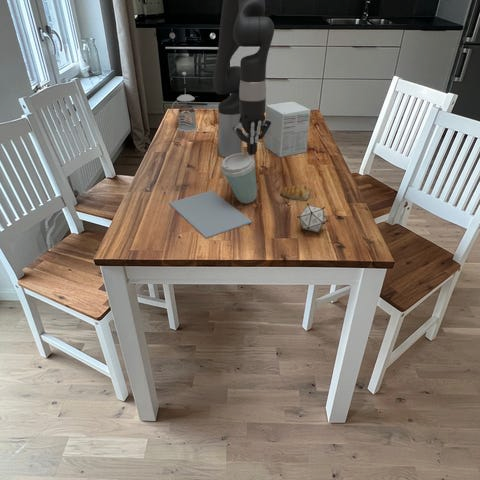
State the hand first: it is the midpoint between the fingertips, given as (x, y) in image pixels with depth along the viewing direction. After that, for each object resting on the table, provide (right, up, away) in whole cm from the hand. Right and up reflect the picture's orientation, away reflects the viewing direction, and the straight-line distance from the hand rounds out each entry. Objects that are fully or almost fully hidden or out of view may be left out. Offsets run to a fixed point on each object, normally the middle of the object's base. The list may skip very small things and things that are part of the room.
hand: (251, 153), depth 127 cm
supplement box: (+15, +11, +46) cm, 50 cm away
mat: (-13, -18, +2) cm, 22 cm away
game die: (+17, -24, -6) cm, 30 cm away
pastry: (+15, -12, +12) cm, 23 cm away
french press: (-29, +25, +66) cm, 76 cm away
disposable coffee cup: (-1, -13, +8) cm, 15 cm away
